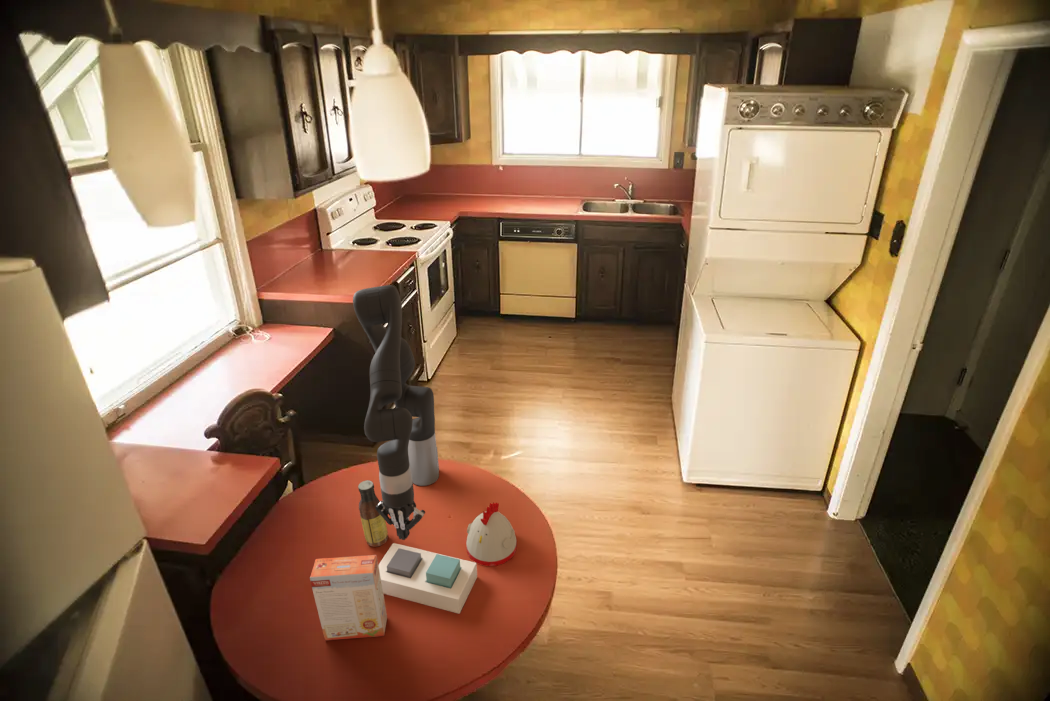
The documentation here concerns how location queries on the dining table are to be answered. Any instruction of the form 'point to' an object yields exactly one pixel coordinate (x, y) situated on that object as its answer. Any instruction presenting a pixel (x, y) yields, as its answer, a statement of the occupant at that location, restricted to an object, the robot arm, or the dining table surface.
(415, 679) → the dining table surface
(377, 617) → the cracker box
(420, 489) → the dining table surface
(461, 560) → the key housing
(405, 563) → the charcoal key
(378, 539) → the sauce bottle
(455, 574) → the teal key
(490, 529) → the kitchen timer
